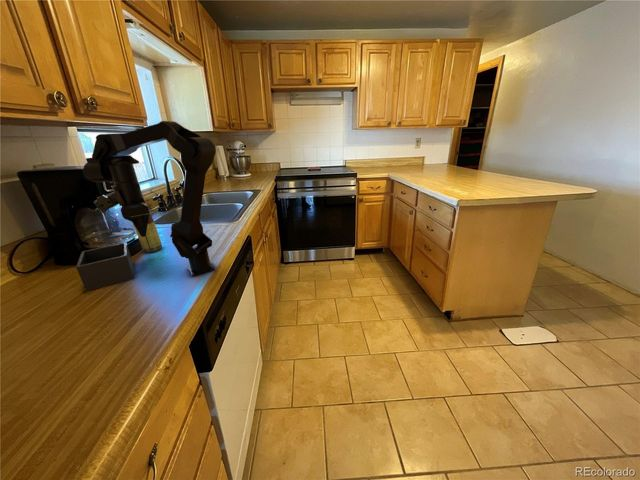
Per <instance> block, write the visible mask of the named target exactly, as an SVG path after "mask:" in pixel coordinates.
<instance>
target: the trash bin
mask: <svg viewBox="0 0 640 480" xmlns="http://www.w3.org/2000/svg"><path fill="white" fill-rule="evenodd" d="M75 268H76V270H77V273H78V275H79V277H80V280H81V282H82V285H83V287H84V289H85V291H86V292H89V291H92V290H96V289H100V288H103V287H107V286H111V285H116V284H118V283H122V282H126V281H131V280H133V279H135V268H134V261H133V258H132V256H131V252H130V250H129V246H128V244H127V242H120V243H117V244H110V245H106V246H102V247H97V248H91V249H88V250H87V249H86V250H83V251H81V253H80V256H79V258H78V261H77V263H76V266H75Z"/></svg>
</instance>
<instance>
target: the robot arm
mask: <svg viewBox="0 0 640 480" xmlns="http://www.w3.org/2000/svg"><path fill="white" fill-rule="evenodd" d="M164 141H167V142H168V144H169V145H170V147H171V148H172V149H174V150H175V151H177V152H178V153H179V156H180V162H181V164H182V166H183V168H184V170H185V171H184V173H185V174H184V183H183V193H182V201H181V212H180V219H179V220H178V221H176V222H174V223H172V224H171V227H170V231H171V232H170V235H169V237H170V238H171V242H172V244H173V246H174V247H175V249H176V251H177V252H178V254H179V256H180V257H181V258H185V259H188V263H189V266H188V267H187V269H188V271H189V273H190V274H191V277H196V276H199V275H203V274H205V273H209V272H212V271H215V270H216V269H215V267H214V265H213V264H212V263H211V260H210V256H209V251H208V249H209V248H211V247H213V239H211V238H210V237H209V236H208V235H206V233H204V226H203V224H202V222H201V220H200V219H201V212H202V211H201V210H202V206H203V205H202V204H203V197H204V188H205V182H206V175H207V172H208V171H209V169H210V168H211V166H212V164H213V162H214V159H215V156H216V151H217V150H216V145H214V143H213V142H212V140H211V139H210V138H208V137H205V136H201V135H200V134H198V133H197V132H195V131H192V130H190V129H188V128H186V127H185V126H184V125H181V124H180V123H179V122H177V121H172V120H161V121H160V122H158V123H154V124H151V125H147V126H144V127H141V128H138V129H133V130H130V131H127V132H123V133H122V132H121V133H118V132H117V133H99V134H97V135H96V136H95V141H94V147H93V151H92V154H91V157H86V158H85V161H86V163H85V164H84V165H83V167H82V174H83V175H84V177H85V178H86V180H88V181H90V182H92V183H112V182H113V184H114V187H113V190H114V191H112V192H110V193H108V194H105V195H104V194H101V195H100V196H97V197H96V199H95V200H94V201H93V204H94V205H95V206H96V208H97V209H98V210H99V211H100V212H101V213H106V212H108V210H110V209H112V208H114V207H115V206H118V205H119V207H120V213H121V216H122V218H123V219H124V220H126V221H130V223H131V222H132V224H133V227H134V226H135V227H136V229H137V230H138V232H139V234H140V235H141V237H145V236H146V232H147V225H148V220H149V215H151V212H150V209H149V207H148V206H149V205H148V204H147V203H146V201H145V198H144V195H143V193H142V190H141V185H140V183H139V179H138V176H137V172H136V170H135V167H134V165H137V164H140V161H139V160H138V159H136V158H135V157H133V156H132V154H133V153H135V152H137V151H138V149H141V148H142V147H146V146H148V145H152V144H156V143H160V142H164ZM135 227H134V228H135Z"/></svg>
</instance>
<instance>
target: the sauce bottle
mask: <svg viewBox="0 0 640 480" xmlns="http://www.w3.org/2000/svg"><path fill="white" fill-rule="evenodd" d="M156 226H157V225H156V223H155V221H154V218H153V216H152V214H150V215H149V220H148V225H147V232H146V236H145V237H141V235H140V234H139V232H138V230H137V229H136V227H135V226H134V225H133V227H134V229H135V232H136V235H137V237H138V240H139V243H140V246H141V248H142V250H143V252H144V253H156V252H158V251H160V250H162V249H163V245H162V241H161V238H160V235H159V232H158V228H157V227H156Z"/></svg>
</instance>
